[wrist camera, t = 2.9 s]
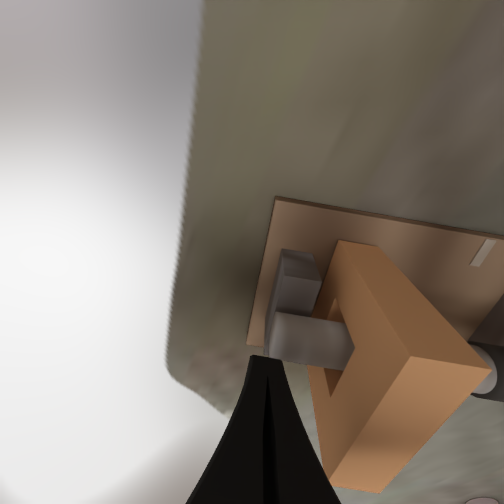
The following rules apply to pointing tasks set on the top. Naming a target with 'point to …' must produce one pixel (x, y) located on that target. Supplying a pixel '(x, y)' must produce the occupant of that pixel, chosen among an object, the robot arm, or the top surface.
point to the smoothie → (482, 501)
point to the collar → (384, 370)
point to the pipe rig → (408, 262)
